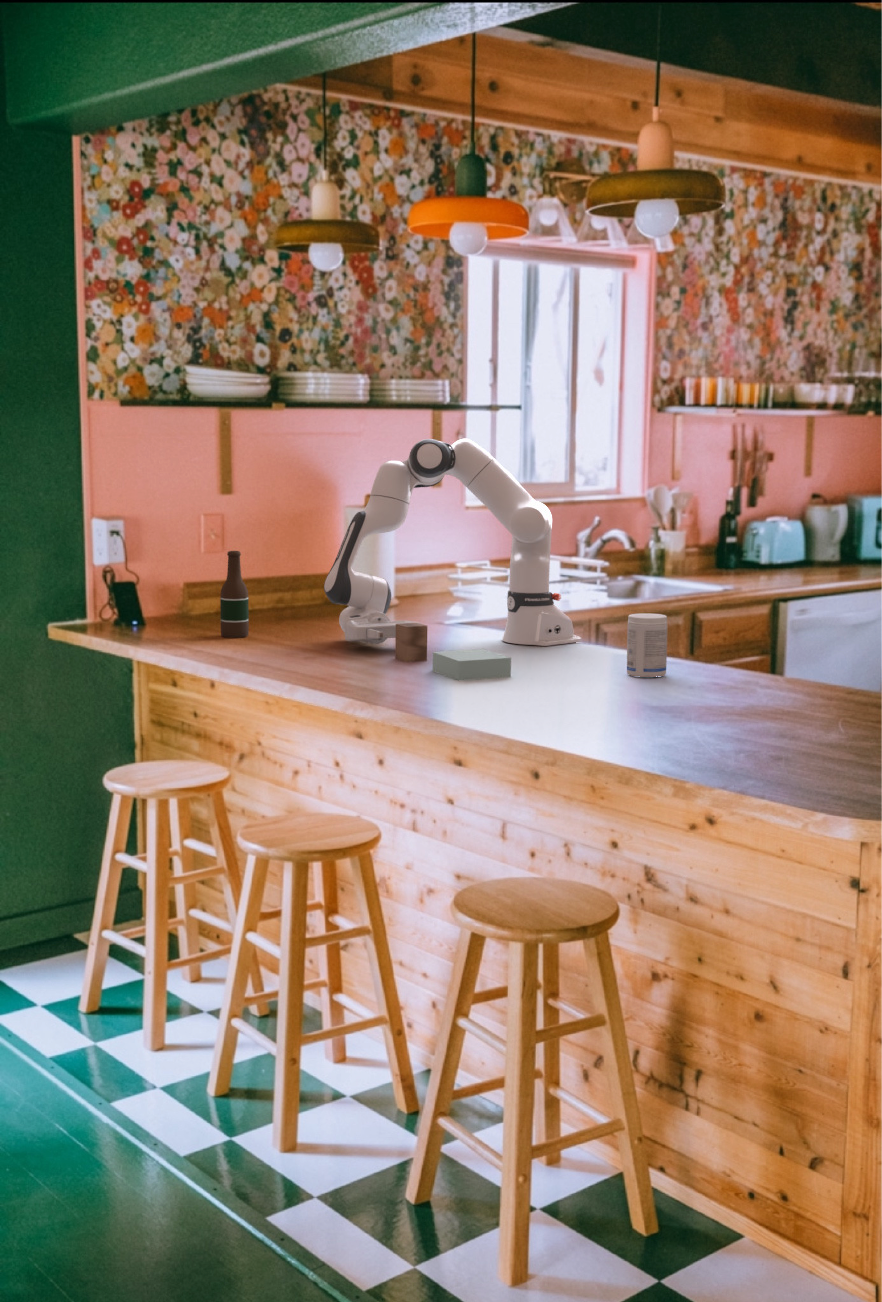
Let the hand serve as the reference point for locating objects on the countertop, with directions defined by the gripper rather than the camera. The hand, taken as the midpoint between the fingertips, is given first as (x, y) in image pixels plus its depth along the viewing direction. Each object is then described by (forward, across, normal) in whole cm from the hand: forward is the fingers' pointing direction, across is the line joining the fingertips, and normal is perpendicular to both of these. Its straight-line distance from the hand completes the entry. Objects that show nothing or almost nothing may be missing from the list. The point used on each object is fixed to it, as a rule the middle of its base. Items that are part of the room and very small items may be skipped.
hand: (396, 633), depth 345 cm
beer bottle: (-47, +28, -5) cm, 55 cm away
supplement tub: (+50, -43, -6) cm, 66 cm away
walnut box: (+7, 0, -6) cm, 9 cm away
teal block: (+31, -5, -6) cm, 32 cm away
